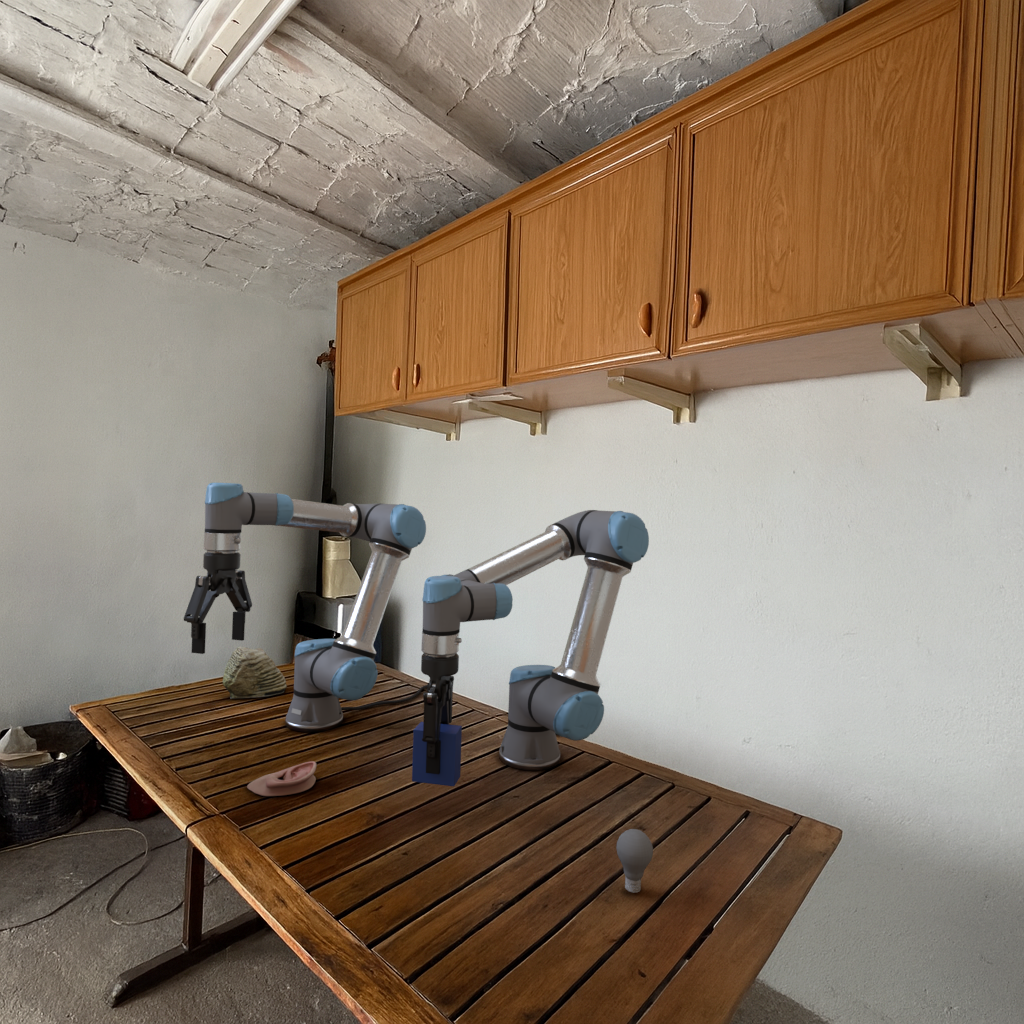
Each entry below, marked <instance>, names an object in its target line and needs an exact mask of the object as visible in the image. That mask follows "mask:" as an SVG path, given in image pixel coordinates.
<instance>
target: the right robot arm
mask: <svg viewBox="0 0 1024 1024" xmlns="http://www.w3.org/2000/svg"><path fill="white" fill-rule="evenodd" d="M649 545H650V537H649V531H648V529H647V528H646V523H645V522H644V521H643V520H642V518H641V517H640V516H638V515H637V514H635V513H632V512H628V511H623V510H617V511H615V510H598V509H587V510H583V511H579V512H576V513H574V514H571V515H569V516H567V517H564V518H563V519H560V520H558V521H556V522H554V523H551V524H550V525H548V526H547V527H546V528H545V530H544V532H542V533H540V534H538V535H535V536H534V537H532V538H529V539H528V540H525V541H523V542H521V543H519V544H517V545H516V546H512V547H511V548H509V549H506V550H505V551H502V552H501V553H499V554H496V555H494V556H492V557H490V558H488V559H485V560H484V561H482V562H480V563H477V564H475V565H473V566H471V567H469V568H467V569H464V570H462V571H459V572H458V573H456V574H450V573H449V574H442V575H433V576H429V577H426V579H425V581H424V584H423V593H422V599H421V601H422V631H421V652H422V654H421V661H420V662H421V665H420V671H421V673H422V674H423V675H425V676H428V677H429V680H428V682H427V684H426V685H427V688H426V692H425V691H424V692H423V695H422V697H423V699H422V700H423V721H422V722H423V738H422V741H423V742H427V748H426V773H431V774H439V773H440V753H441V741H440V740H439V736H440V726H441V724H449V725H450V724H452V722H453V695H454V694H453V693H454V680H455V675H456V674H458V672H459V668H460V667H459V665H460V655H459V654H458V652H459V651H460V644H461V643H462V641H463V639H462V638H461V637H460V632H461V623H467V622H478V621H479V622H480V621H490V620H491V621H495V620H499V619H504V618H506V617H508V616H509V615H510V613H511V612H512V609H513V600H514V599H513V593H512V591H511V589H510V588H509V586H508V585H510V584H513V583H514V582H516V581H519V580H520V579H522V578H524V577H526V576H528V575H530V574H531V573H533V572H535V571H537V570H540V569H541V568H543V567H546V566H547V565H549V564H551V563H554V562H556V561H558V560H559V561H566V560H568V559H570V558H573V557H577V556H583V561H584V563H585V565H586V567H587V569H586V573H585V577H584V579H583V583H582V586H581V589H580V590H581V591H580V594H579V598H578V602H577V605H576V608H575V612H574V616H573V618H572V623H571V626H570V630H569V633H568V638H567V640H566V643H565V644H566V645H565V648H564V651H563V655H562V658H561V662H560V665H558V666H557V667H555V666H553V665H549V664H526V665H520V666H519V665H518V666H515V667H514V668H512V670H510V673H509V674H510V675H509V682H508V685H509V686H508V709H507V727H506V730H505V733H504V735H503V738H502V740H501V743H500V746H499V751H498V752H499V753H498V758H499V759H500V761H501V762H502V763H503V764H505V765H506V766H507V767H511V768H514V769H517V770H523V771H544V770H549V769H552V768H554V767H556V766H557V765H559V764H560V761H561V750H560V747H559V744H558V739H557V736H559V737H561V738H565V739H568V740H571V741H575V742H576V741H577V742H578V741H582V740H585V739H587V738H589V737H590V735H593V734H594V733H595V732H596V731H597V730H598V729H599V727H600V725H601V723H602V721H603V718H604V714H605V705H604V704H603V703H604V701H603V699H602V698H601V696H600V694H599V692H600V688H601V683H600V681H599V679H598V677H597V675H598V671H599V670H598V669H599V666H600V662H601V659H602V655H603V651H604V648H605V645H606V641H607V638H608V637H607V636H608V633H609V629H610V625H611V623H612V622H611V621H612V618H613V615H614V611H615V607H616V604H617V600H618V596H619V592H620V589H621V585H622V581H623V578H624V577H625V576H627V575H628V574H631V573H632V568H633V566H634V564H635V563H638V562H640V561H641V560H642V558H645V556H646V555H647V553H648V549H649Z"/></svg>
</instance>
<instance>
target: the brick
mask: <svg viewBox="0 0 1024 1024" xmlns="http://www.w3.org/2000/svg"><path fill="white" fill-rule="evenodd" d="M423 722H424V721H420V722H419V723H418V724H417V725H416V726H415V728H413V730H412V731H413V732H412V733H413V734H412V737H413V738H412V766H411V767H412V768H411V770H412V771H411V782H413V783H421V784H430V785H437V786H438V785H439V786H446V787H455V786H456V784H457V783H458V782H459V780H460V778H461V766H462V765H461V764H462V739H463V738H462V737H463V736H462V735H463V733H462V732H463V725H457V724H450V723H449V724H441V726H440V736H439V740H440V741H441V753H440V773H439V774H431V773H426V748H427V742H423V741H422V738H423Z"/></svg>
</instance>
